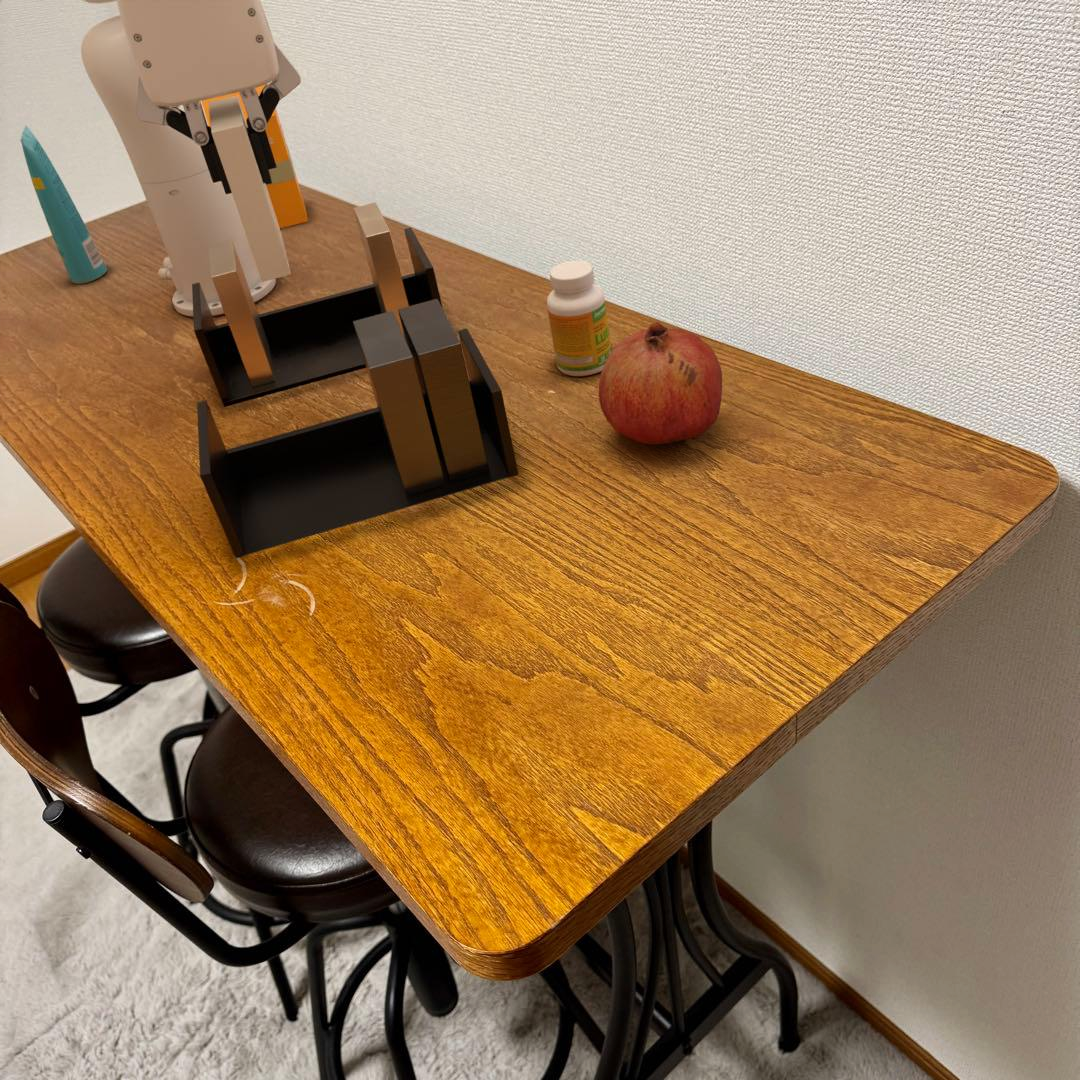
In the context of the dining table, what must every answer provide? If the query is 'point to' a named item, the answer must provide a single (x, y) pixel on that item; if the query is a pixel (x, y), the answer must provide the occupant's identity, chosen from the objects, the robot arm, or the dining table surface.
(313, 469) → the black rack
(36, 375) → the dining table surface
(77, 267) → the tube
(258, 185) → the long flat cream plank
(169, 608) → the dining table surface
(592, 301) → the supplement bottle
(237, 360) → the brown and black frame
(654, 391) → the fruit
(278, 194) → the orange juice
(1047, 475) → the dining table surface
